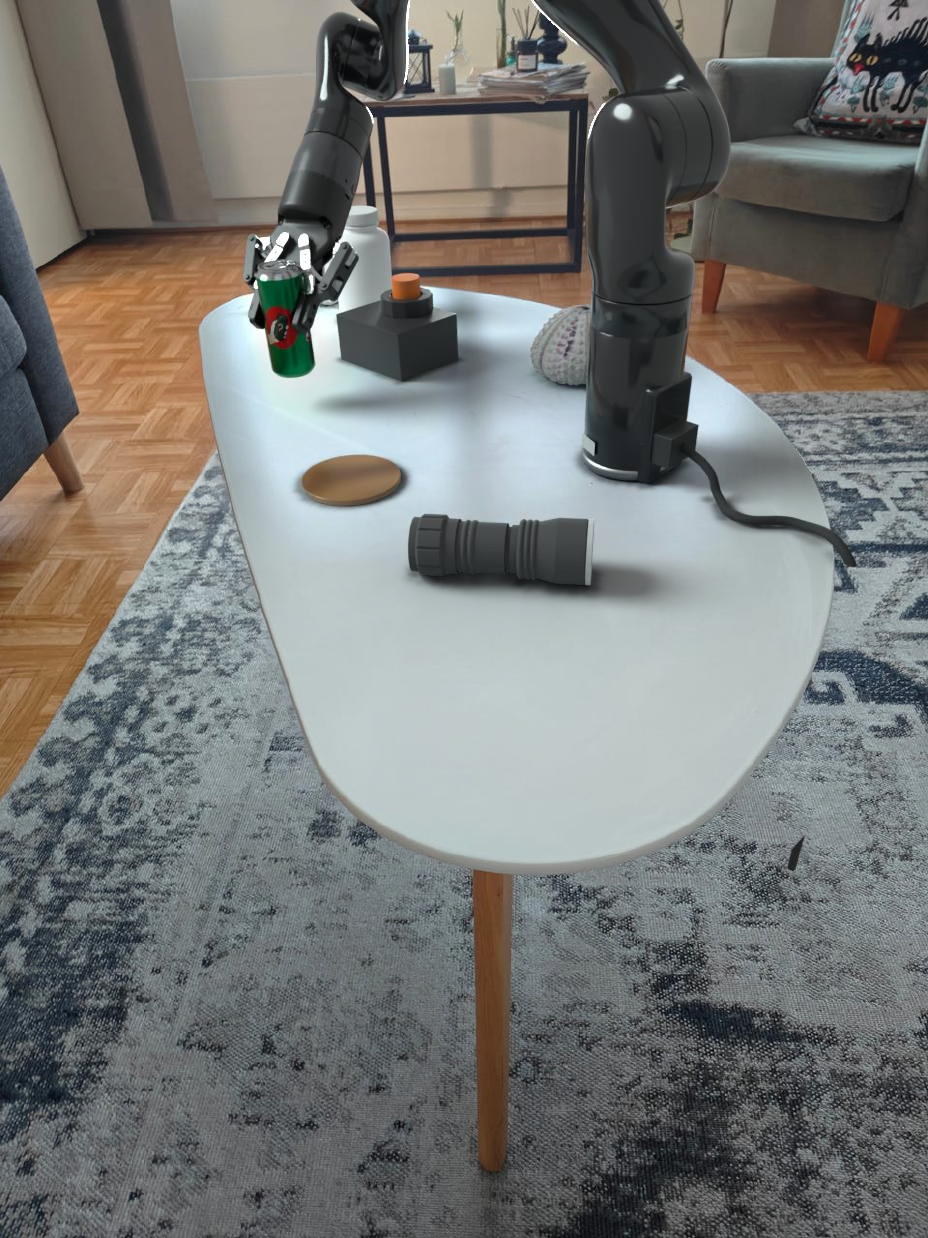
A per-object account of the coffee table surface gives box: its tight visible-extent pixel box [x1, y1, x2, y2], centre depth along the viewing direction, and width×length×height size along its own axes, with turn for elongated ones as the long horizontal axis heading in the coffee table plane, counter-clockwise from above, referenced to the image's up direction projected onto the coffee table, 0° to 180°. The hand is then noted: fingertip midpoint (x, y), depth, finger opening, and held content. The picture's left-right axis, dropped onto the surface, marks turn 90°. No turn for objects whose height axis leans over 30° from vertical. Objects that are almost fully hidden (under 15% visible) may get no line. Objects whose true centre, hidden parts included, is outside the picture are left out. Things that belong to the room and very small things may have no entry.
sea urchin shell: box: [529, 303, 591, 386], centre depth 110 cm, size 13×14×8 cm
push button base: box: [335, 286, 459, 383], centre depth 116 cm, size 12×10×8 cm
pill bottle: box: [338, 205, 393, 313], centre depth 128 cm, size 8×8×15 cm
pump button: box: [391, 272, 421, 300], centre depth 114 cm, size 4×4×2 cm
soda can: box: [256, 259, 316, 379], centre depth 101 cm, size 5×5×12 cm
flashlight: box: [407, 513, 595, 586], centre depth 75 cm, size 15×5×5 cm, turn 81°
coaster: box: [300, 454, 402, 507], centre depth 91 cm, size 10×10×1 cm
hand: (277, 327), depth 100 cm, fingers closed on soda can, 5 cm apart
